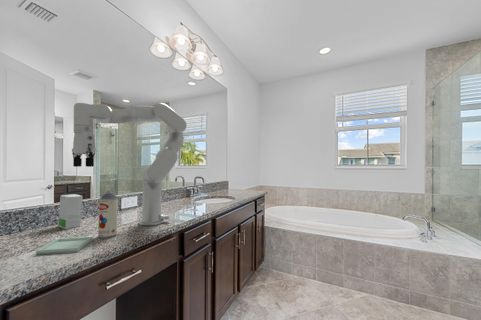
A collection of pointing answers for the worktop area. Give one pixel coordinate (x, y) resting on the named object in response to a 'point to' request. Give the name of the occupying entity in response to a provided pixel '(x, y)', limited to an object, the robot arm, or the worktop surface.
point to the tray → (64, 245)
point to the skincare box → (70, 211)
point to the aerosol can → (108, 215)
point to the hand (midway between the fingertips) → (83, 166)
